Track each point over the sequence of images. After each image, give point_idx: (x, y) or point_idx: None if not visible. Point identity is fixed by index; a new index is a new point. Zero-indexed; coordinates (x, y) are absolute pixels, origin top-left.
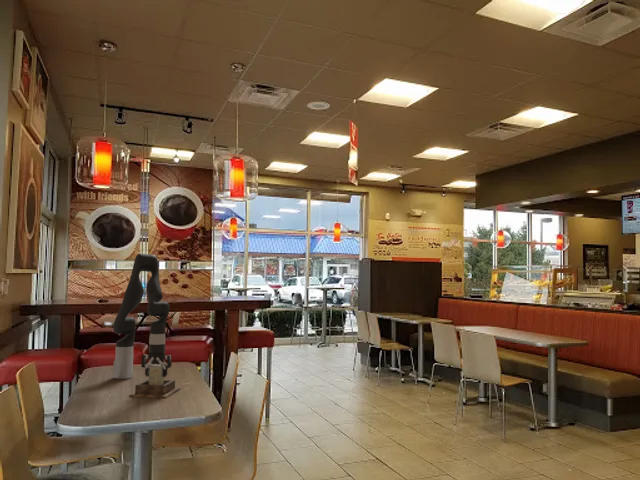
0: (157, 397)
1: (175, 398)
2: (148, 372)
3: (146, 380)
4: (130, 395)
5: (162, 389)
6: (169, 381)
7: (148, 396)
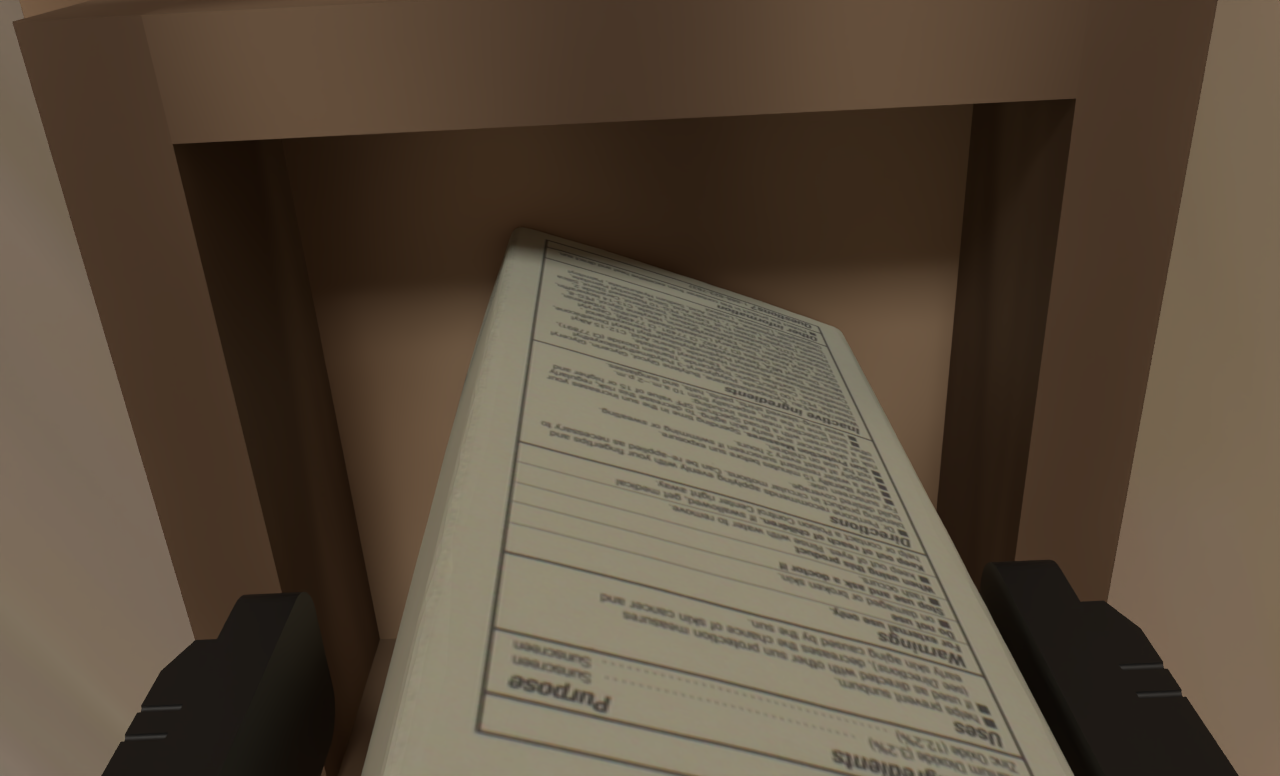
0: None
1: (1259, 679)
2: (278, 758)
3: (130, 272)
4: None
5: None
6: (996, 93)
7: None
